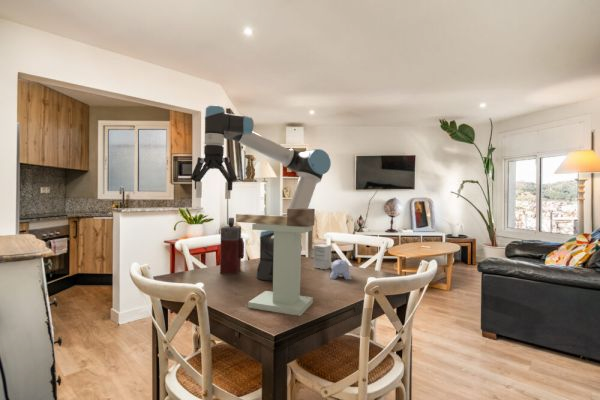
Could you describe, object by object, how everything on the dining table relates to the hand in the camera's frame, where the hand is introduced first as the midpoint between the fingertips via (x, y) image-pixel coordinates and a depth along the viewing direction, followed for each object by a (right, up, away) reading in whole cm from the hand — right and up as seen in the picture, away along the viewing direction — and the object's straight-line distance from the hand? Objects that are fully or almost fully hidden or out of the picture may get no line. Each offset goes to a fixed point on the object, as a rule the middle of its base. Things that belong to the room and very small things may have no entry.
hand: (212, 198), depth 127 cm
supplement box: (+48, -39, +49) cm, 78 cm away
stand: (+28, -40, -10) cm, 50 cm away
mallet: (+25, -10, -10) cm, 29 cm away
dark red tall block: (0, -38, +37) cm, 53 cm away
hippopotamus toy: (+55, -39, +31) cm, 75 cm away
